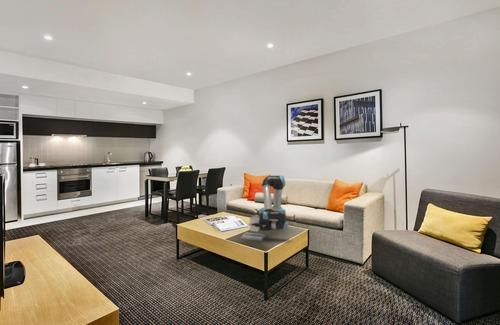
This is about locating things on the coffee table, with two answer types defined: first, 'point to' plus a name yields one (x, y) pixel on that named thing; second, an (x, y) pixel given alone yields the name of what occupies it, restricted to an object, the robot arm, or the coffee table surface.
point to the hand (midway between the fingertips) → (249, 223)
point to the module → (254, 220)
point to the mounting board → (253, 236)
